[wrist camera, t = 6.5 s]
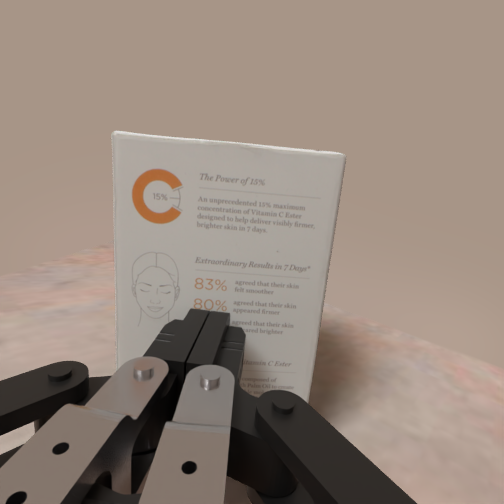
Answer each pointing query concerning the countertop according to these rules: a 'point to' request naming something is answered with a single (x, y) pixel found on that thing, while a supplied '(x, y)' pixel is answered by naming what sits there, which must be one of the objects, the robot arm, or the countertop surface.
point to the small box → (225, 246)
